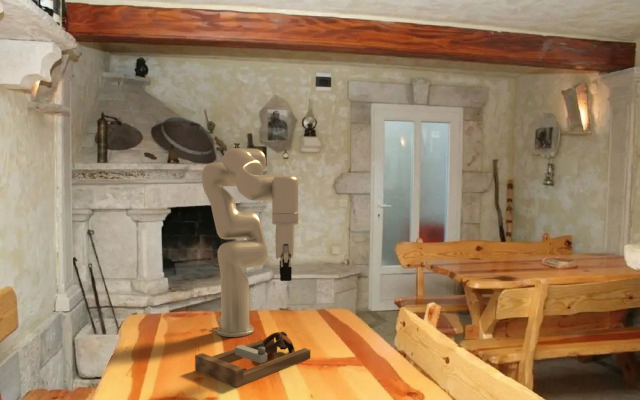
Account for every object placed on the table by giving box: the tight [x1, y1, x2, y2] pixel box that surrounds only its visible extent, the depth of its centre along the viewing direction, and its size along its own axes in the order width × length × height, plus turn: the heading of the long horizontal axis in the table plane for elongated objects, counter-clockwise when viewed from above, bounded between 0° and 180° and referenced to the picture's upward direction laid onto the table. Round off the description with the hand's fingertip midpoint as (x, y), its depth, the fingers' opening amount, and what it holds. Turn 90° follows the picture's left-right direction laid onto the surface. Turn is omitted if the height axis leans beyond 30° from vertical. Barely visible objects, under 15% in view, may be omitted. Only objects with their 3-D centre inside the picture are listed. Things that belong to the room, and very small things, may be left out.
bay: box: [194, 338, 311, 388], centre depth 153 cm, size 18×28×4 cm, turn 139°
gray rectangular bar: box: [234, 344, 268, 364], centre depth 150 cm, size 11×2×4 cm, turn 49°
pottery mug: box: [261, 331, 296, 356], centre depth 160 cm, size 12×10×8 cm
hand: (285, 277), depth 154 cm, fingers open, 9 cm apart
